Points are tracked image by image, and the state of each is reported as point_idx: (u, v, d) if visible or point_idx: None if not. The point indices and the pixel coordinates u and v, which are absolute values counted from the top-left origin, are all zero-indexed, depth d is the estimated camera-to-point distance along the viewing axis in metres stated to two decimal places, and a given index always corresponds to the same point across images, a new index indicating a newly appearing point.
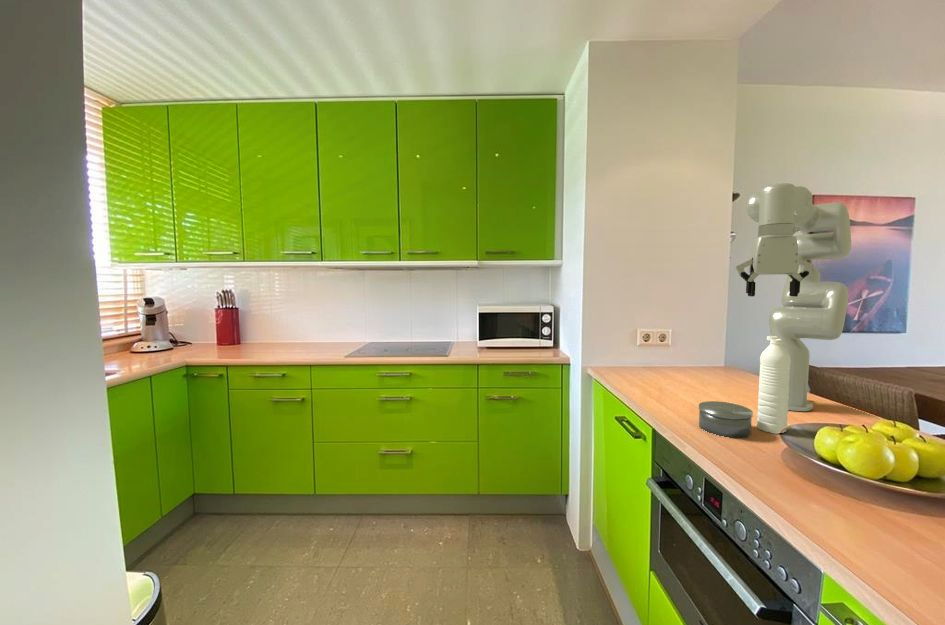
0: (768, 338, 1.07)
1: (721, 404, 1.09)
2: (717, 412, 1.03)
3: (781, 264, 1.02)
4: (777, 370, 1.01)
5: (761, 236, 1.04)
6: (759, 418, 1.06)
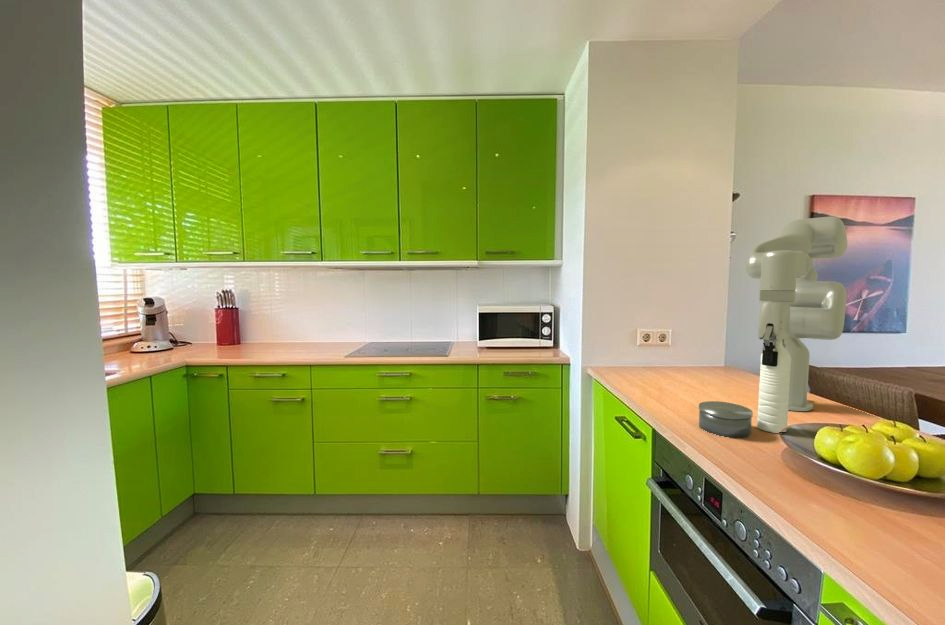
0: None
1: (721, 404, 1.09)
2: (717, 412, 1.03)
3: (787, 330, 1.03)
4: (777, 369, 1.01)
5: (778, 302, 1.00)
6: (759, 417, 1.06)
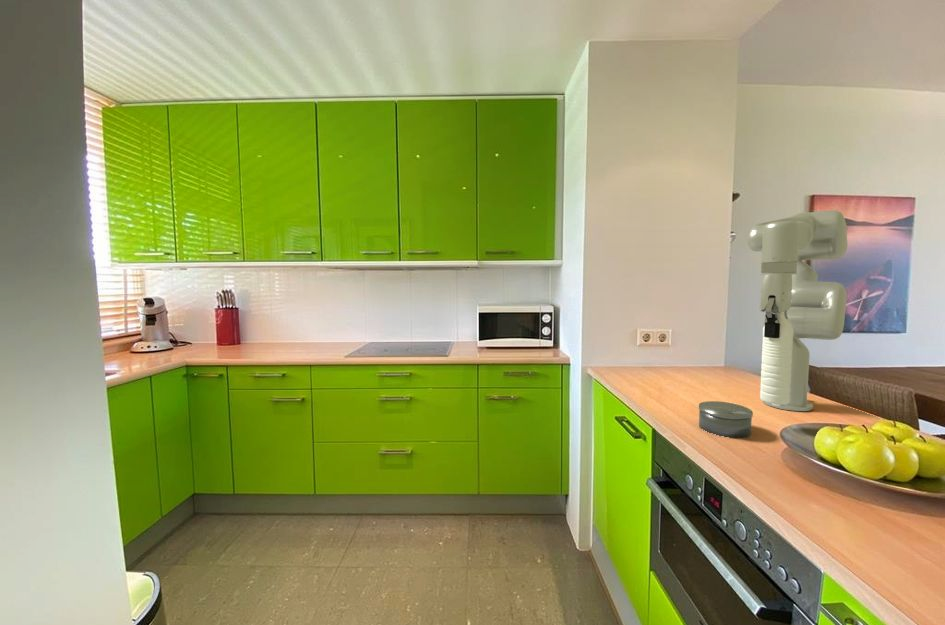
0: None
1: (721, 404, 1.09)
2: (717, 412, 1.03)
3: (789, 301, 1.02)
4: (780, 341, 1.02)
5: (780, 273, 1.00)
6: (762, 390, 1.06)
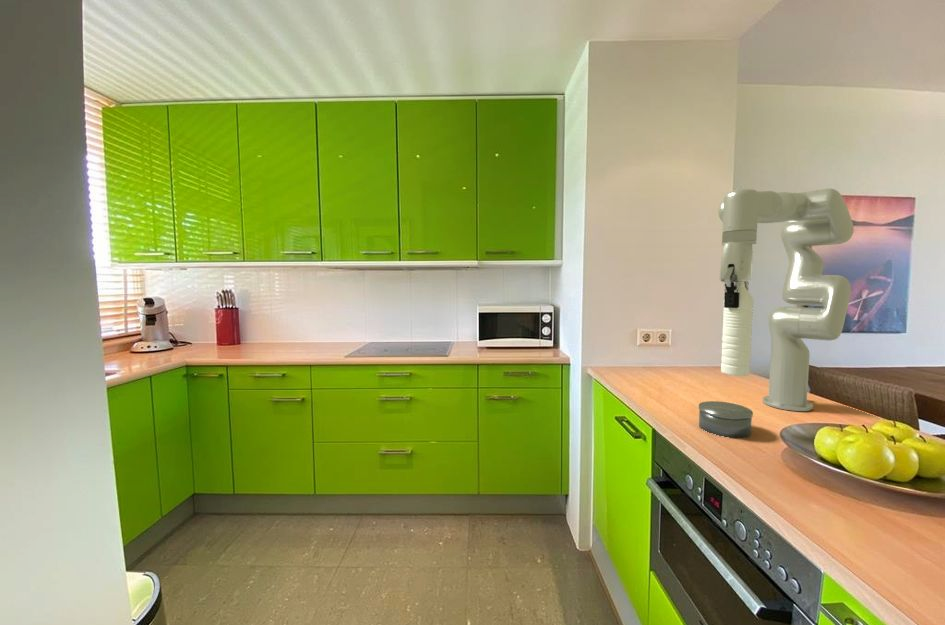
0: None
1: (721, 404, 1.09)
2: (717, 412, 1.03)
3: (748, 271, 1.01)
4: (739, 311, 1.00)
5: (739, 241, 0.99)
6: (723, 362, 1.05)
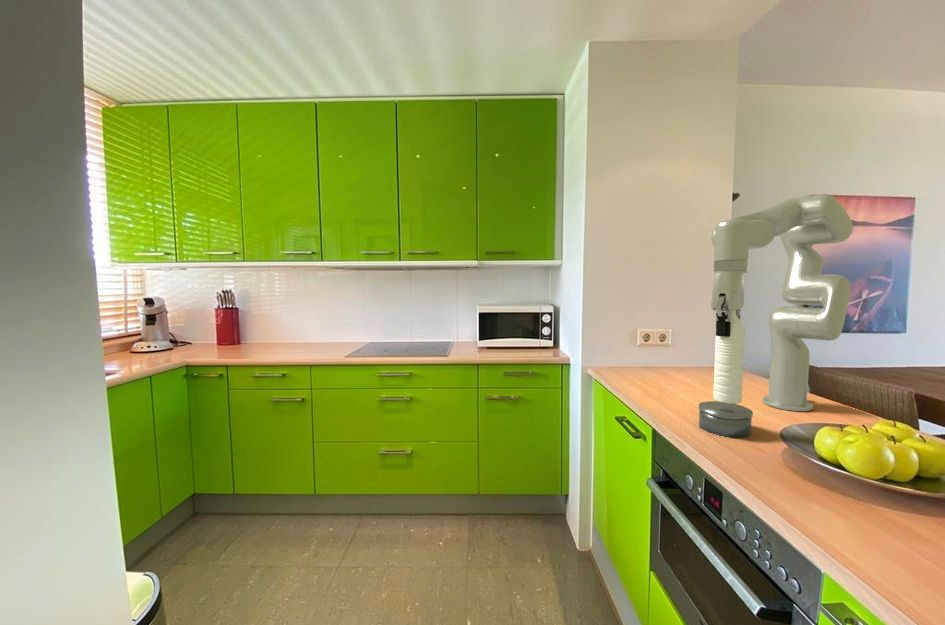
0: None
1: (721, 404, 1.09)
2: (717, 412, 1.03)
3: (740, 300, 1.02)
4: (731, 339, 1.01)
5: (730, 271, 0.99)
6: (715, 389, 1.06)
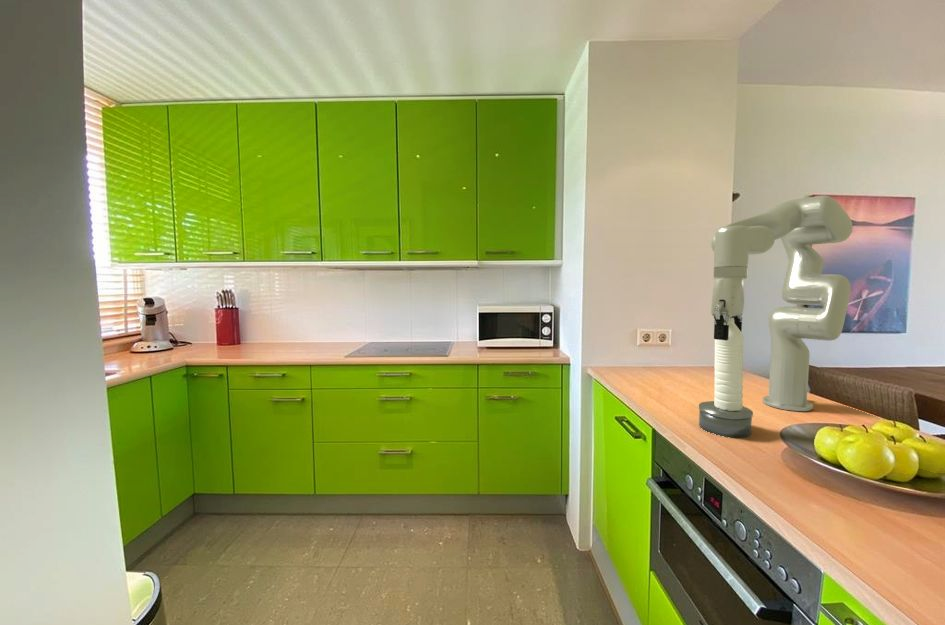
0: None
1: None
2: (717, 412, 1.03)
3: (740, 306, 1.02)
4: (731, 348, 1.02)
5: (730, 277, 1.00)
6: (716, 397, 1.06)
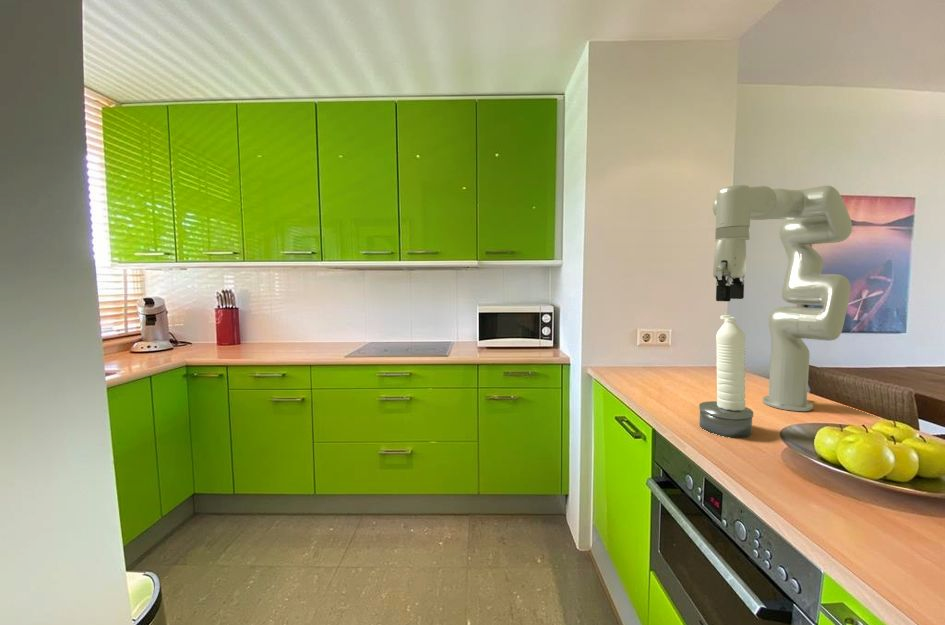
0: (722, 317, 1.09)
1: None
2: (718, 412, 1.03)
3: (742, 267, 1.01)
4: (733, 347, 1.02)
5: (732, 238, 0.99)
6: (719, 397, 1.06)
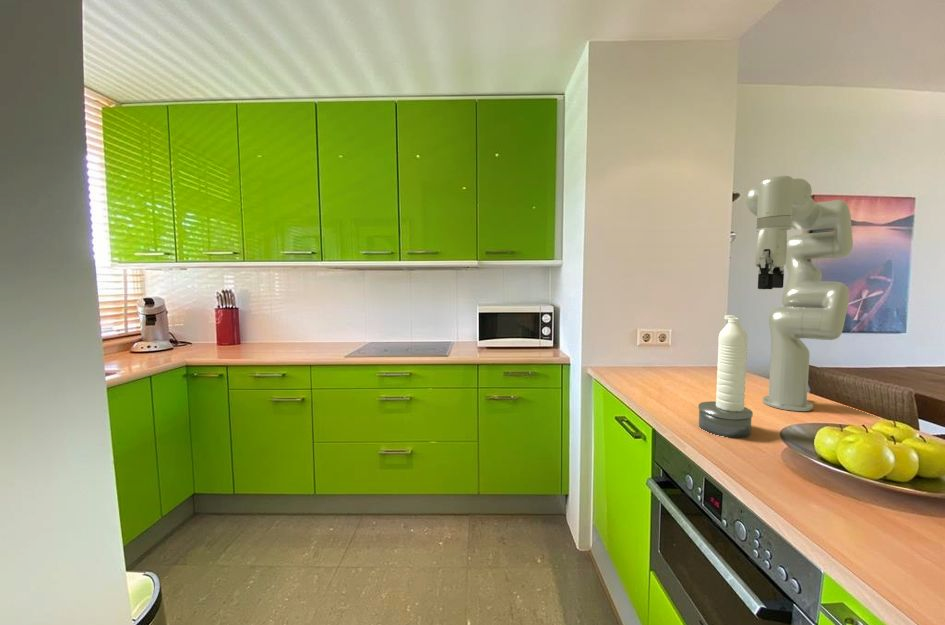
0: (726, 317, 1.07)
1: None
2: (717, 412, 1.03)
3: (783, 256, 1.04)
4: (735, 348, 1.02)
5: (775, 227, 1.01)
6: (718, 397, 1.06)
